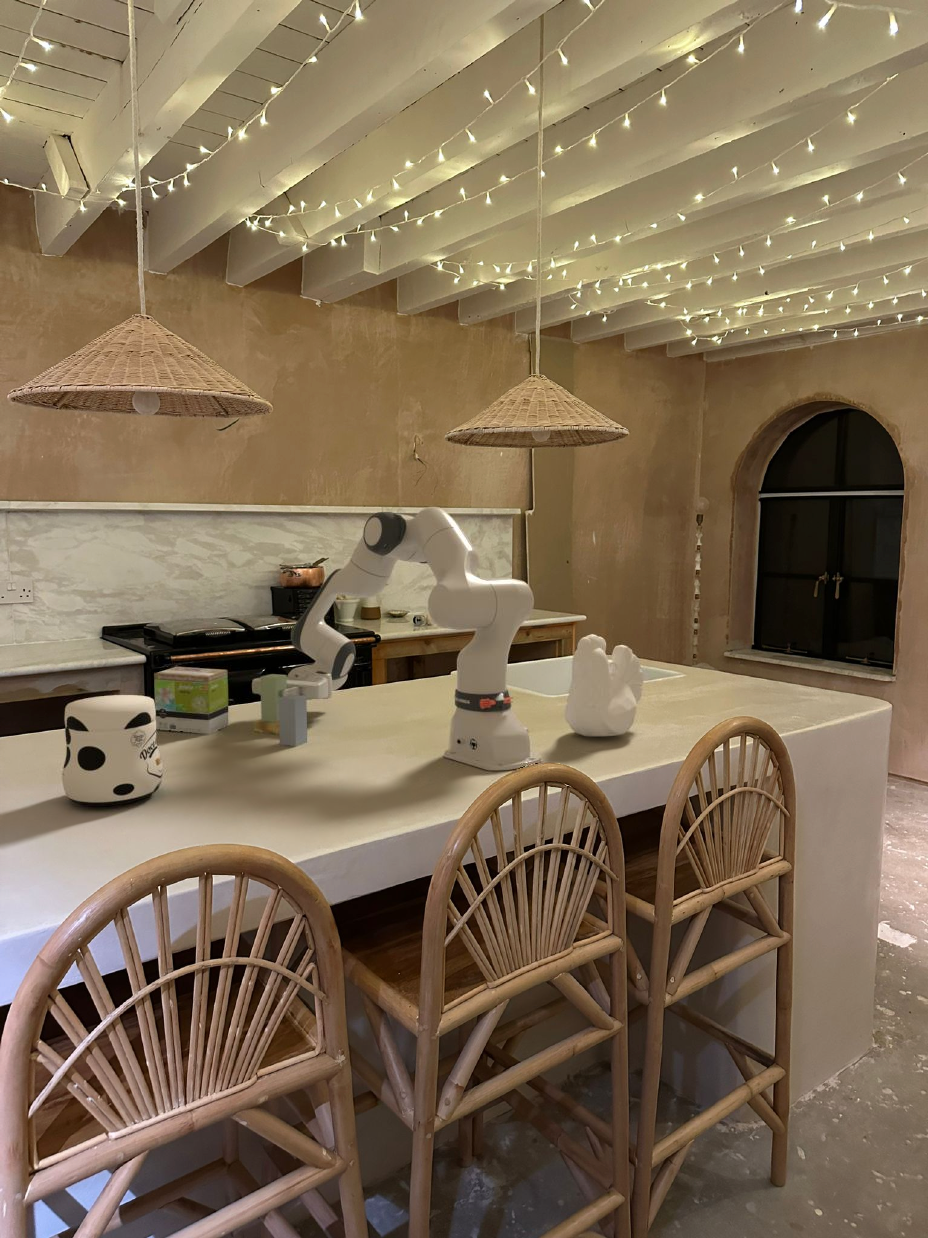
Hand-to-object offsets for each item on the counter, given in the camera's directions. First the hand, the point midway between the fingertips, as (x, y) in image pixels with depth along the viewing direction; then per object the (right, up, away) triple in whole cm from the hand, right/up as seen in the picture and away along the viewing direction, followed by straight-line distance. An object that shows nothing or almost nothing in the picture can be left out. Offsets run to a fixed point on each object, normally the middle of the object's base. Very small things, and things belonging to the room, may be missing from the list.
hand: (271, 692), depth 211 cm
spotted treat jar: (-18, -15, -51) cm, 56 cm away
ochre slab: (0, -9, +2) cm, 10 cm away
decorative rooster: (+83, -10, -2) cm, 84 cm away
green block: (0, -7, +2) cm, 7 cm away
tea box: (-20, -9, +3) cm, 23 cm away
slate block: (+8, -11, -11) cm, 17 cm away
